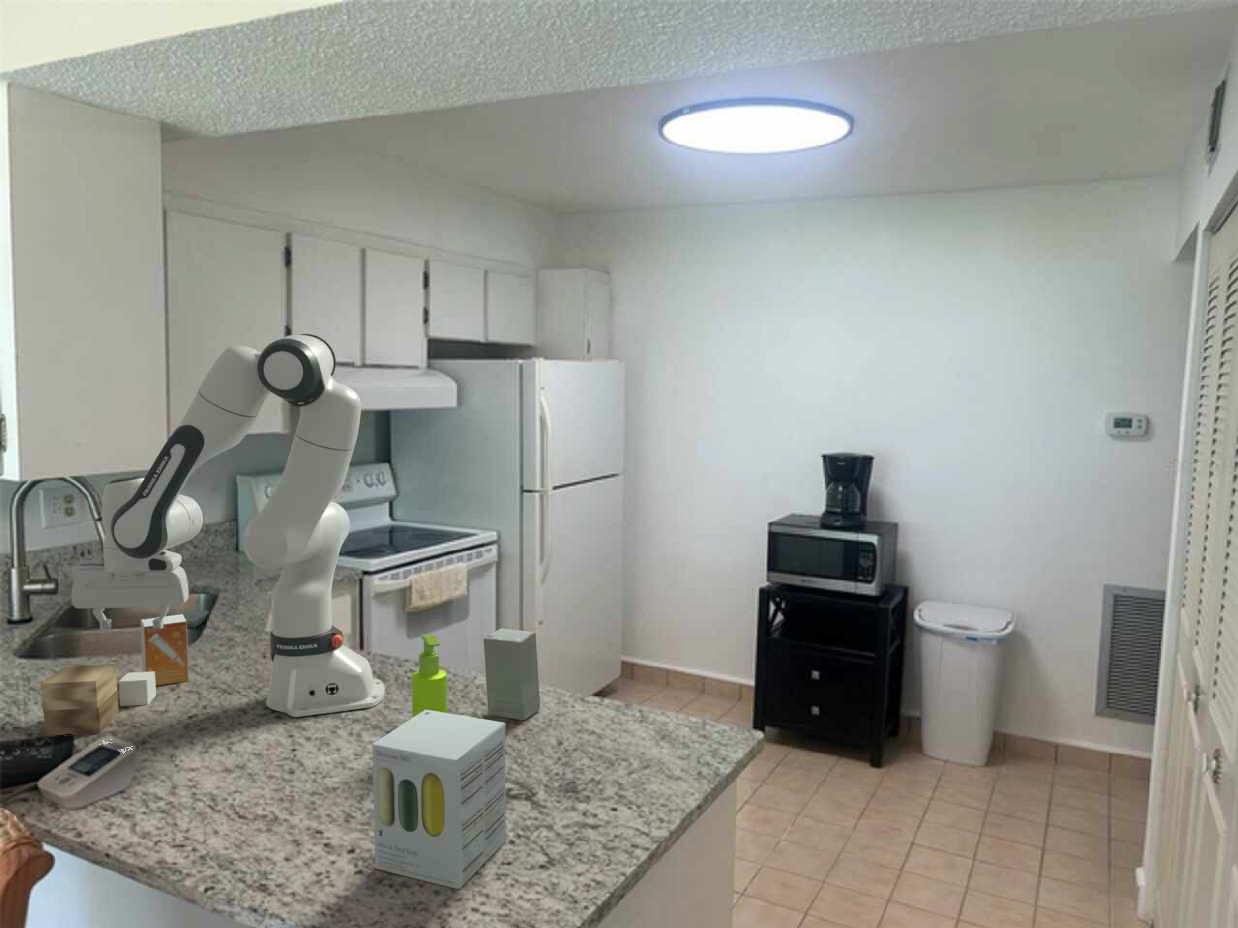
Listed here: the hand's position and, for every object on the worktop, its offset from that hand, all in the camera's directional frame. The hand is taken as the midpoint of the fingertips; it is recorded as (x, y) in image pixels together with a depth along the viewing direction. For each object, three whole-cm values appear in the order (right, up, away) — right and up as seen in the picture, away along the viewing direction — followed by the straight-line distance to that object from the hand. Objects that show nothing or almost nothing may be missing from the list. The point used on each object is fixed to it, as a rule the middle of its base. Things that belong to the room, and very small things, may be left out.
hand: (132, 628), depth 175 cm
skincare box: (+75, -16, -3) cm, 76 cm away
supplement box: (+71, -21, -53) cm, 91 cm away
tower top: (-3, -11, -11) cm, 16 cm away
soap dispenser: (+62, -18, -19) cm, 67 cm away
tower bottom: (-3, -16, -10) cm, 19 cm away
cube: (0, -15, +2) cm, 15 cm away
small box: (0, -13, +13) cm, 18 cm away
